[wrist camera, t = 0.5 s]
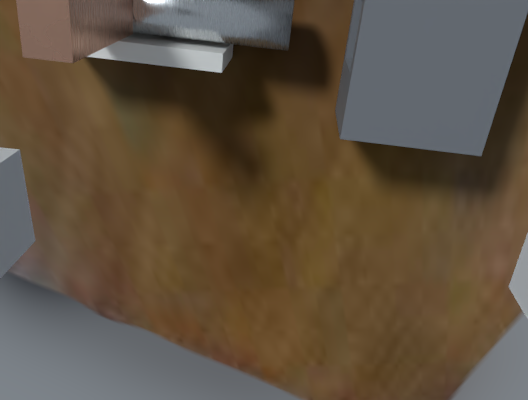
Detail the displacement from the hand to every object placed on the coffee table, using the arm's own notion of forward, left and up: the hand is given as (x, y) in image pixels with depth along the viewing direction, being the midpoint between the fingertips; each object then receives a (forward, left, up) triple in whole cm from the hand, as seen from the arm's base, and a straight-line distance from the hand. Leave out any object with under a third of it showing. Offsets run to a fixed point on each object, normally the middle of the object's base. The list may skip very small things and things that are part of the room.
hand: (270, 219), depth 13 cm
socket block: (-2, +8, -25) cm, 27 cm away
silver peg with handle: (-2, -8, -24) cm, 26 cm away
